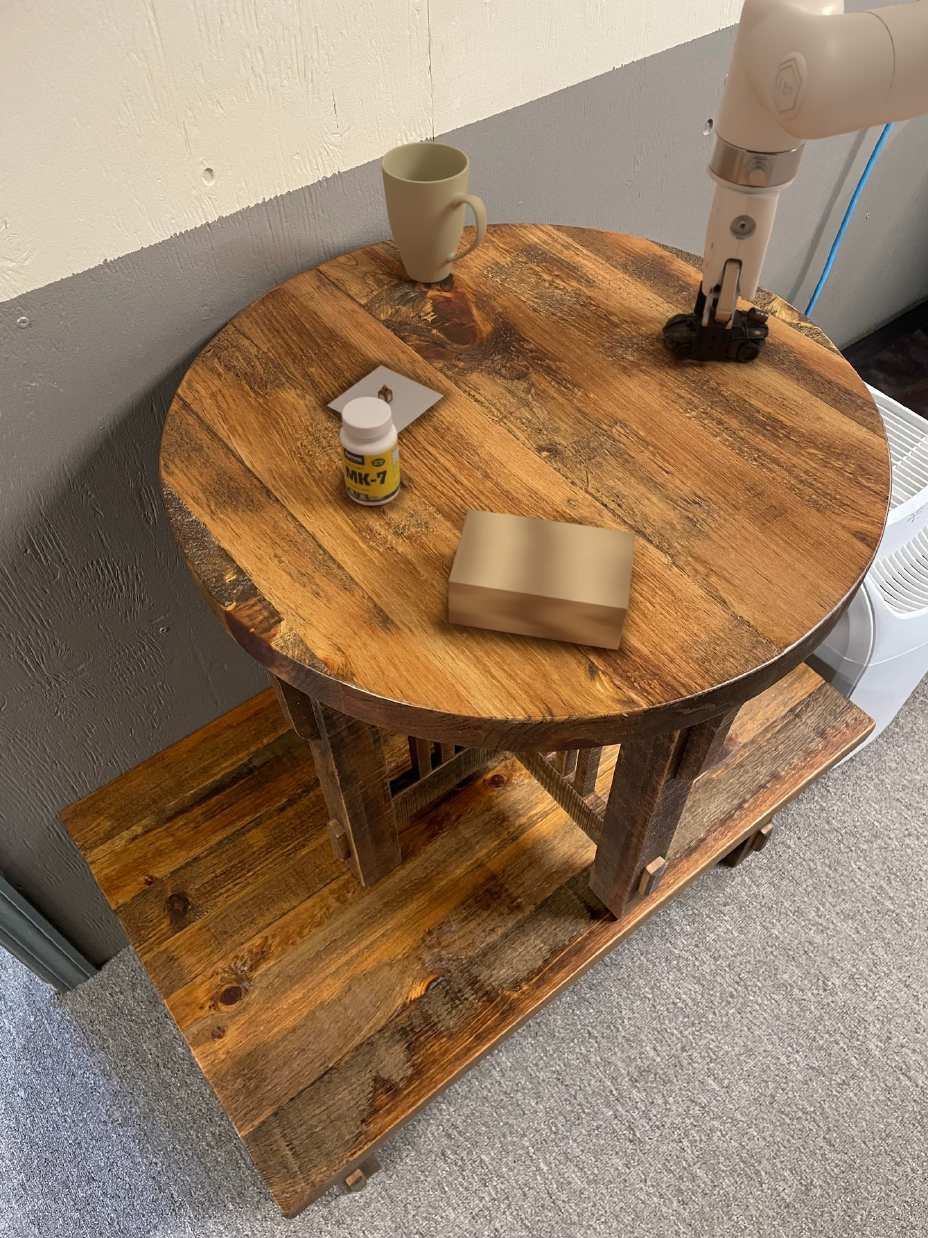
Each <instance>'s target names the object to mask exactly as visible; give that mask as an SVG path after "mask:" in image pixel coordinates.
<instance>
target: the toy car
mask: <svg viewBox="0 0 928 1238" xmlns="http://www.w3.org/2000/svg"><path fill="white" fill-rule="evenodd" d="M711 308H712V309H713V306H712V307H711ZM769 316H770V313H769V311H768V310H763V309H759V308H756V307H755V306H751V307H750V308H749V309H748V310H744V309H742V310H741V309H738V308H736V309H735V313H734V318H733V322H732V323H733V327H732V330H731V334H730V337H729V341H728V344H727V348H726V351H725V355H724V356H726V357H728V358H733V359H734V358H735V359H736V358H738V359H739V360H740V361H741V362H743V363H751V362H753V361H755V360H756V359H757V358H758V356H759V354H760V349H761V350H764V349H763V348H764V347H765V346H766V344H767V341H766V339H767V338H768V337H769V334H770V332H769V330H770V329H769V328H770V327H769V325H768V324H767V322H768V321H769V318H770V317H769ZM702 318H703V316H698V315H696V314H695V313H694V312H692V311H691V312H689V313H686V312H685V313H683V312H682V313H681V312H680V313H676V314H674V315H673V316H671V317H669V318H668V319H667V320H666V323H665V324H664V326H663V327H662V329H661V331H662V333H663V336H664V341H665V343H666V344H665V345H666V347H667V348H670V349H674V353H675V355H676V357H677V358H678V359H680V360H686V359H689V358H690V357H691V350H692V346H693V342H694V338H695V334H696V330H697V326H698V322H699V320H702Z"/></svg>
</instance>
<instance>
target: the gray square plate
mask: <svg viewBox="0 0 928 1238" xmlns="http://www.w3.org/2000/svg"><path fill="white" fill-rule="evenodd" d="M444 396H445V395H444V394H442V393H439V392H438V391H436V390H433V389H431V388H429V387H427V386H425V385H423V384H421V383H419V382H417V381H415V380H412V379H411V378H408V377H406V376H404V375H403V374H400V373H399V372H396V371H394V370H392V369H389V368H388V367H386V366H384V365H381V364H380V365H379V366H378V367H377V368H375V369H374V370H372V371H371V372H370V373H369V374H367V375H366V376H364V377H363V378H361V380H359V381H358V382H356V383H355V384H354V385H352V386H351V387H350V388H348V389H347V390H346V391H344V392H343V393H342V394H340V395H339V396H337V398H335V399H333V400H332V401H331V402H329V403H328V404H327V405H326V406H327V407H329V408H330V409H332V410H334V411H336V412H338V413H340V414H342V410H343V408H344V406H345V405H346V404H347V403H348V402H350V401H352V400H354V399H357V398H360V397H375V398H378V399H381V400H383V401H385V402H386V403H387V404H388V405H389V407H390V409H391V415H392V423H393V425H394V426H395V428H396V430H397V435H398V434H399V433H400V432H402V431H403V430H405V428H407V427H408V426H409V425H410V424H412V422H414V421H415V420H416V419H418V417H421V416H422V414H424V413H425V412H426V411H427V410H428V409H429V408H431V407H432V406H433V405H435V404H436V403H437V402H439V400H441V399H442V398H443V397H444Z"/></svg>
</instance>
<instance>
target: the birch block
mask: <svg viewBox="0 0 928 1238" xmlns="http://www.w3.org/2000/svg"><path fill="white" fill-rule="evenodd" d="M635 543H636V532H631V531H626V530H618V529H611V528H604V527H597V526H590V525H583V524H577V523H569V522H563V521H556V520H549V519H542V518H535V517H529V516H522V515H516V514H515V515H514V514H507V513H501V512H493V511H487V510H479V509H473V508H468V509H467V512H466V516H465V519H464V523H463V527H462V531H461V534H460V537H459V541H458V544H457V548H456V552H455V555H454V559H453V563H452V567H451V570H450V573H449V577H448V581H447V583H448V585H447V586H448V587H447V589H448V591H447V592H448V623H449V624H453V625H458V626H464V627H465V626H466V627H471V628H478V629H484V630H490V631H495V632H496V631H497V632H502V633H509V634H515V635H522V636H528V637H535V638H541V639H546V640H552V641H559V642H564V643H565V642H566V643H572V644H577V645H582V646H583V645H584V646H590V647H596V648H603V649H609V650H614V651H618V650H619V646H620V642H621V639H622V635H623V630H624V626H625V622H626V617H627V614H628V611H629V600H630V591H631V584H632V583H631V581H632V573H633V563H634V555H635V553H634V552H635Z"/></svg>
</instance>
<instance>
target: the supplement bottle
mask: <svg viewBox="0 0 928 1238" xmlns="http://www.w3.org/2000/svg"><path fill="white" fill-rule="evenodd" d="M341 423H342V424H341V425H342V427H341V429H340V431H339V446H340V452H341V461H342V469H343V475H344V476H343V477H344V485H345V490H346V492H347V495H348V496H349V498H350V499H351V500H352V501H354V502H356V503H357V504H360V505H363V506H381V505H385V504H387V503H389V502H391V501H392V500H394V499H395V498H396V497H397V495H398V494H399V493H400V490H401V472H400V470H401V469H400V455H399V454H400V453H399V435H398V434H397V430H396V428H395V426H394V425H393V423H392V415H391V409H390V407H389V405H388V404H387V403H386V402H385V401H383V400H381V399H378V398H375V397H360V398H357V399H354V400H352V401H350V402H348V403H347V404H346V405H345V406H344V408H343V410H342V413H341Z"/></svg>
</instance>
